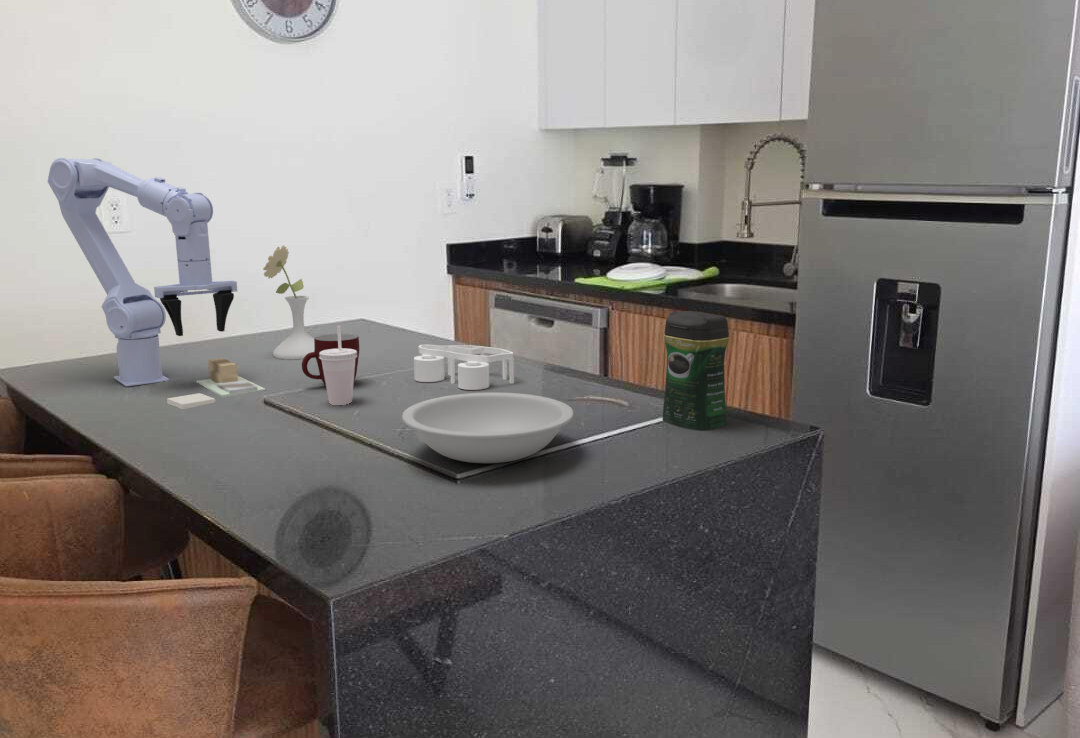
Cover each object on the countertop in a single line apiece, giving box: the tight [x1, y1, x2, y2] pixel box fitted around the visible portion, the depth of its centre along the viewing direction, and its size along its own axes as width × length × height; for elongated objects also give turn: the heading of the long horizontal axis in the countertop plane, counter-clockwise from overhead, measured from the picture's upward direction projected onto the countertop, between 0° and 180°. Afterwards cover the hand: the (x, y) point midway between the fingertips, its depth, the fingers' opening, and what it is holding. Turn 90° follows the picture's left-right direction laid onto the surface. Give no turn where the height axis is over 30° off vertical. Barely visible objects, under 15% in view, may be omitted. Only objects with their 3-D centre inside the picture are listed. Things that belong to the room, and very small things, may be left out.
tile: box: [166, 392, 216, 410], centre depth 164 cm, size 1×6×6 cm
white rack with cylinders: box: [413, 344, 515, 391], centre depth 175 cm, size 20×11×7 cm, turn 53°
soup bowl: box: [401, 392, 575, 464], centre depth 132 cm, size 24×24×7 cm
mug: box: [301, 333, 360, 387], centre depth 173 cm, size 11×8×10 cm
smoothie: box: [319, 325, 357, 406], centre depth 160 cm, size 6×6×14 cm
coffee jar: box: [662, 310, 730, 432], centre depth 144 cm, size 10×8×19 cm
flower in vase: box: [263, 244, 315, 361], centre depth 199 cm, size 13×11×25 cm
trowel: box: [207, 357, 257, 394], centre depth 175 cm, size 15×5×4 cm, turn 37°
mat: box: [195, 375, 266, 398], centre depth 176 cm, size 15×8×1 cm, turn 37°
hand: (200, 333), depth 175 cm, fingers open, 7 cm apart
